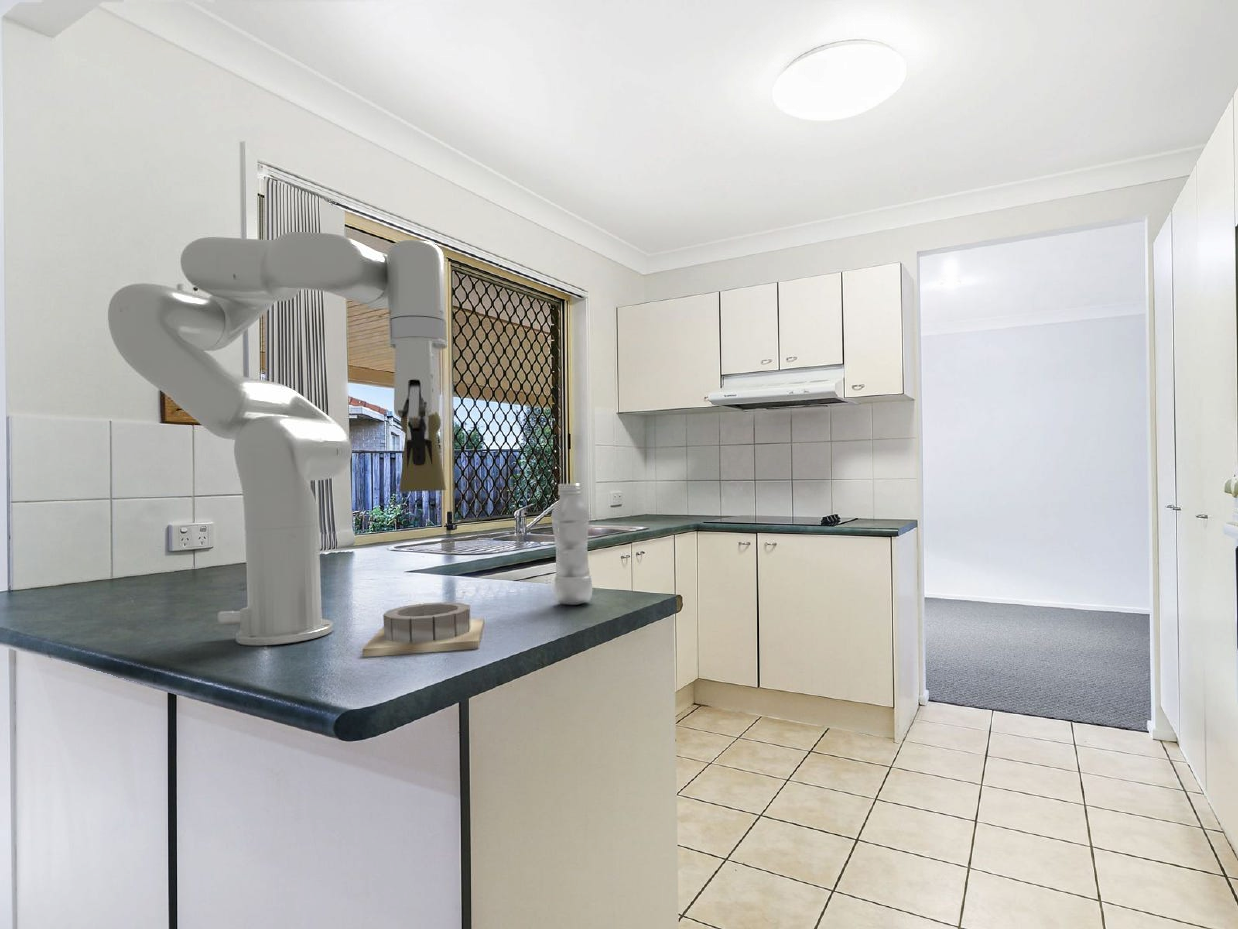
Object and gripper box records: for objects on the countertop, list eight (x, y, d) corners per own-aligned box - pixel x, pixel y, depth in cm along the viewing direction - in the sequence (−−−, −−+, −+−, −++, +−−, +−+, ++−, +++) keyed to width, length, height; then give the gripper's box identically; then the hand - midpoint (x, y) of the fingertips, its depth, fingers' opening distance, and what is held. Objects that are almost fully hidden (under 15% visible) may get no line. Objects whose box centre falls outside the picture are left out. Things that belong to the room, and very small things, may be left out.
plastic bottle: (598, 600, 118) (593, 482, 118) (585, 608, 111) (581, 483, 112) (562, 600, 120) (558, 484, 120) (548, 608, 113) (543, 485, 113)
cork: (438, 490, 91) (436, 406, 91) (392, 492, 91) (390, 407, 91) (451, 489, 97) (448, 410, 97) (408, 490, 97) (406, 411, 97)
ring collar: (362, 657, 86) (361, 624, 86) (384, 632, 100) (383, 604, 100) (478, 648, 88) (477, 616, 88) (484, 625, 102) (483, 598, 102)
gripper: (399, 347, 102) (403, 472, 102) (377, 322, 86) (381, 472, 85) (452, 346, 103) (456, 471, 103) (439, 322, 87) (444, 470, 87)
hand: (422, 470), depth 94 cm, fingers closed on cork, 3 cm apart
